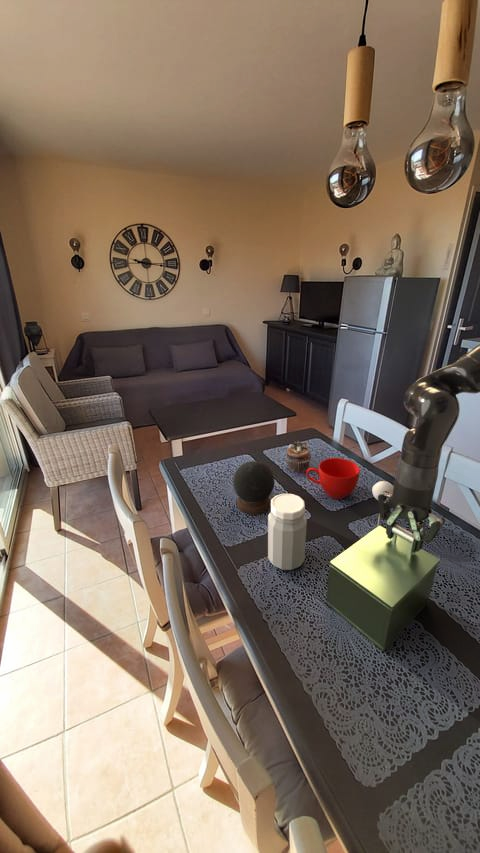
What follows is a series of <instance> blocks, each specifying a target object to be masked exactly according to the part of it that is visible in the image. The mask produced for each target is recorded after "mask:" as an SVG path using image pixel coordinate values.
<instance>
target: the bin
mask: <svg viewBox="0 0 480 853" xmlns="http://www.w3.org/2000/svg"><path fill="white" fill-rule="evenodd" d="M437 568H438V565H437V566H436V567H435V568H434V569H433V570H432V571H431V572H430V573H429V574H428V575H427V576H426V577H425V578H424V579H423V580H422V581H421V582H420V583H419V584H418V585H417V586H416V587H415V588H414V589H413V590H412V591H411V592H410V593H409V594H408V595H407V596H406V597H405V598H404V599H403V600H402V601H401V602H400V603H399V604H398V605H397V606H396V607H395V608H394V609H393V610H391V609H389V608H388V607H387V606H385V605H384V604H383V603H381V602H380V601H378V600H377V599H376V598H374V597H373V596H372V595H370V594H369V593H368V592H366V591H365V590H363V589H362V588H361V587H359V586H358V585H357V584H355V583H354V582H353V581H351V580H350V579H349V578H347V577H346V576H344V575H343V574H342V573H340V572H339V571H338V570H336V569H335V568H334V567H332V566H331V565H330V564H329V566H328V577H327V587H326V598H325V605H327V606H328V607H329V608H330V609H331V610H333V611H334V612H335V613H336V614H338V615H339V616H340V617H341V618H342V619H343V620H344V621H346V622H347V623H348V624H349V625H351V627H353V628H354V629H355V630H357V632H359V633H360V634H361V635H362V636H364V638H366V639H367V640H368V641H370V642H371V643H372V644H373V646H374V645H375V646H376V647H377V648H378V649H379V650H380V651H381V652H382V653H383V652H385V651H386V650H387V649H388V647H390V646H391V644H392V643H393V642H394V641H395V640H396V639H397V638H398V637H399V636H400V634H402V633H403V631H404V630H405V629H406V628H407V627H408V626H409V625H410V624H411V622H412V621H414V620H415V619H416V618H417V617H418V615H419V614H421V612H422V611H423V610H424V609H425V607H427V606H428V603H429V599H430V595H431V593H432V588H433V584H434V580H435V576H436V573H437Z"/></svg>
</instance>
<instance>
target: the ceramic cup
mask: <svg viewBox="0 0 480 853" xmlns="http://www.w3.org/2000/svg"><path fill="white" fill-rule="evenodd" d="M310 471H311V472H315V473H316V474H317V476H318V478H319V480H318V479H315V478H313V477H312V476H310V474H309V472H310ZM305 472H306V473H305V474H306V477H307V478H308V479H309V480H310V481H311V482H313V483H314V484H315V483H316V484H318V485H320V487H321V488H322V489H323V491H324V492H325V493H326V494H327V496H329V497H331V498H333V499H337V500H338V499H339V500H340V499H345V498H346V497H348V496H349V495H350V494H351V493H353V492H354V490H355V489H356V487H357V484H358V482H359V477H360V474H361V473H360V472H361V469H360V467H359V466H358V464H356V463H355V462H354V461H352V460H349V459H346V458H341V457H331V458H325V459H323V460H321V462H320V463H319V464H318V469H317V468H315V467H308V470H306V471H305Z"/></svg>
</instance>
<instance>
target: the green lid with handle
mask: <svg viewBox="0 0 480 853" xmlns="http://www.w3.org/2000/svg"><path fill="white" fill-rule="evenodd" d="M392 532H393V538H391V539H389V538H387V534H386V528H385V527H383V526H382V525H380V524H379V526H377V527H375V528H374V529H372V530H371V531H370V532H368V533H367V534H365V535H364V536H363V537H362V538H360V539H359V540H358V541H356V542H355V543H353V544H352V545H351V546H349V547H348V548H347V549H345V550H344V551H343V552H341V553H340V554H339V555H337V556H335V558H333V559H332V560H330V561H329V566H330V565H331V566H332V567H334V568H335V569H336V570H338V571H339V572H340V573H342V574H343V575H344V576H346V577H347V578H349V579H350V580H351V581H353V582H354V583H355V584H357V585H358V586H359V587H361V588H362V589H363V590H365V591H366V592H368V593H369V594H370V595H372V596H373V597H374V598H376V599H377V600H378V601H380V602H381V603H383V604H384V605H385V606H387V607H388V608H389V609H391V610H393V609H394V608H395V607H396V606H397V605H398V604H399V603H400V602H401V601H402V600H403V599H404V598H405V597H406V596H407V595H408V594H409V593H410V592H411V591H412V590H413V589H414V588H415V587H416V586H417V585H418V584H419V583H420V582H421V581H422V580H423V579H424V578H425V577H426V576H427V575H428V574H429V573H430V572H431V571H432V570H433V569H434V568H435V567H436V566H437V567H438V565H440V563H441V559H440V558H438V557H437V556H435V555H433V554H431V553H430V552H427V551H426V550H424V549H423V548H421V549H420V550H419V551H418V552H415V553H413V552H412V551H411V549H412V544H413V539H414V538H415V536H414V532H411V531H409V530H407V529H406V528H404V527H403V526H401V525H398V524H397V525H396V524H395V525H394V526H393V528H392Z"/></svg>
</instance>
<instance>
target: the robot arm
mask: <svg viewBox="0 0 480 853" xmlns="http://www.w3.org/2000/svg"><path fill="white" fill-rule="evenodd" d="M479 393H480V343H479V344H477V345H476V346H474V348H472V349H470V350H469V351H468V352H466V353H465V354H464V355H462V356H461V357H460V358H458V360H456V361H455V362H453V363H451V364H448V365H445V366H442V367H441V368H439V369H436V370H435V371H432V372H431V373H430V372H429V373H428V374H426V375H424V376H423V377H421V378H419V379H417V380H416V381H414V382H413V383H412V384H411V385H410V386H409V387H408V389H407V390H406V392H405V393H404V397H403V404H404V405H403V406H404V408H405V409H406V410H407V411H408V412H409V413H410V414H411V415H413V417H415V418H416V419H417V425H416V428H415V427H414V428H411V429H409V430H408V431H406V432H405V434H404V436H403V440H402V444H401V450H400V457H399V459H398V462H397V466H396V470H395V478H394V484H393V487H394V488H393V495H392V494H389V493H388V492H387V491H384V492H382V493H381V494H380V495H378V500H377V502H378V515H379V514H380V519H382V520H385V521H386V528H385V529H386V534H387V538H389V539H391V538H393V532H392V528H393V526H394V525H395V524H396V525H398V522H397V521H398V519H401V520H405V521H406V522H407V523H408V524H409V525H410V528H411V530H412V532H413V534H414V536H415V538H414V539H413V544H412V549H411V551H412V552H413V553H415V552H418V551H419V550H420V549H423V546H424V543H425V544H430V543H431V542H432V541H433V540H434V539H435V538H436V537H437V535H438V534H439V532H440V530H441V529H442V528H443V525H444V524H445V523H446V520H445V518H444V517H442V516H440V517H438V516H436V515H435V514H434V513H433V512H432V509H431V506H432V502H433V498H434V494H435V490H436V486H437V482H438V477H439V466H440V462H441V456H442V452H443V447H444V444H445V443H446V441H447V440H448V438H449V437H450V435H451V433H452V432H453V430H454V428H455V426H456V424H457V422H458V420H459V418H460V412H461V406H460V400H459V398H458V396H457V395H459V394H473V395H475V394H479ZM391 505H392V508H393V511H392V512H391ZM427 519H428V521H429V522H428V525H429V526H428V527H429V529H428V531H426V520H427Z"/></svg>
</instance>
